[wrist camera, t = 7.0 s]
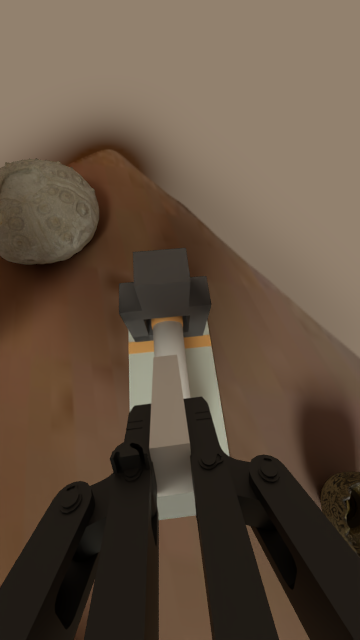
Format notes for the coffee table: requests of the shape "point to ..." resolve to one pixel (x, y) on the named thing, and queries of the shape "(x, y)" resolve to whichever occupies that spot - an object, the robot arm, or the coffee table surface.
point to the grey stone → (44, 212)
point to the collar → (163, 294)
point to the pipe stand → (194, 381)
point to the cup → (343, 506)
